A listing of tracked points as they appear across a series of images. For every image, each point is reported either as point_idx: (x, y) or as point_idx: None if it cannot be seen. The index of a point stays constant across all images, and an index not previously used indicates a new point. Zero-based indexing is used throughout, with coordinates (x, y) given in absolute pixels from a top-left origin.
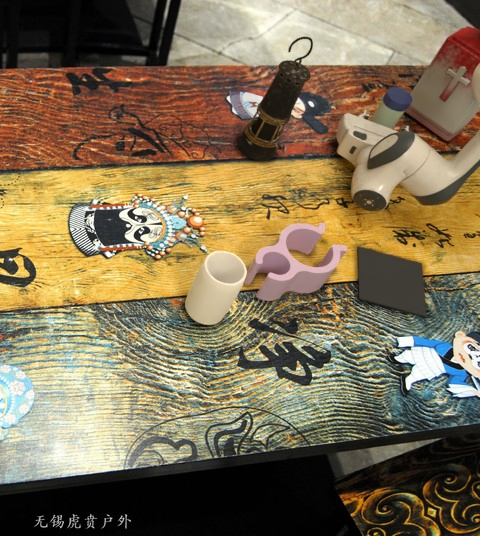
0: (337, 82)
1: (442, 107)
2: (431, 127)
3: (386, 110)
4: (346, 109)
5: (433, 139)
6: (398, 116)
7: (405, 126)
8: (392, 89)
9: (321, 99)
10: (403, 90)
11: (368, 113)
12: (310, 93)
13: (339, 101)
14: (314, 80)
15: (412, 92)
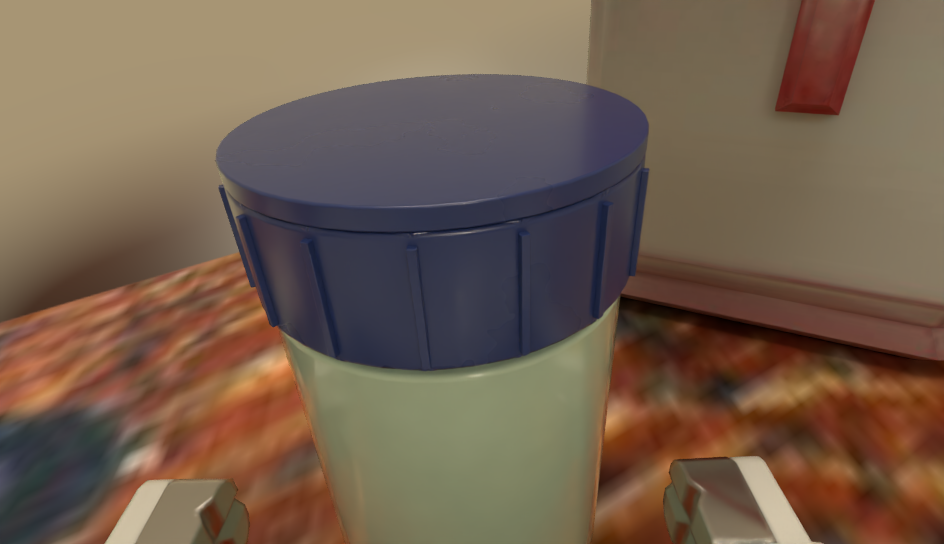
0: (239, 287)
1: (828, 166)
2: (797, 317)
3: (349, 409)
4: (249, 428)
5: (860, 384)
6: (574, 412)
7: (732, 490)
8: (323, 102)
9: (75, 429)
10: (473, 78)
11: (175, 526)
12: (9, 417)
13: (214, 388)
14: (99, 324)
15: None
